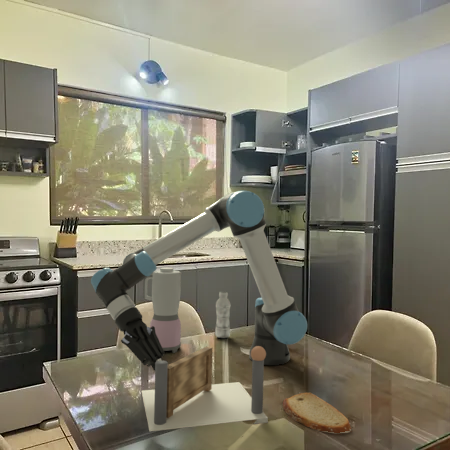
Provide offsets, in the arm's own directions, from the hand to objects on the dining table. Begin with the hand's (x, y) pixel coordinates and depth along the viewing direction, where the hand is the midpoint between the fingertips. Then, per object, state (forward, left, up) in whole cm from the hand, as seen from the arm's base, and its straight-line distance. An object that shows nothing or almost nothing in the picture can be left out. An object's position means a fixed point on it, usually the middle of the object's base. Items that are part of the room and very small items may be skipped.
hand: (168, 381), depth 117 cm
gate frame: (-8, +5, -6) cm, 11 cm away
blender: (-4, -49, -6) cm, 50 cm away
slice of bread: (-37, +16, -7) cm, 41 cm away
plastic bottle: (-32, -59, -6) cm, 67 cm away
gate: (-5, +4, -5) cm, 8 cm away
